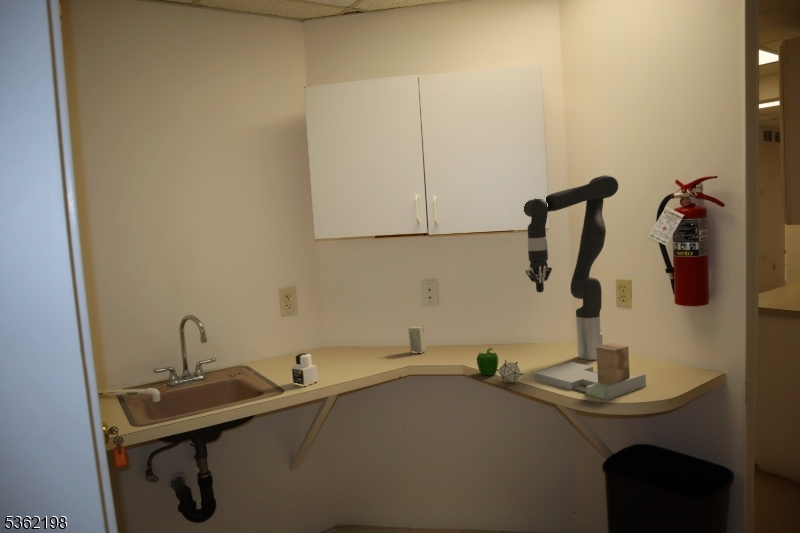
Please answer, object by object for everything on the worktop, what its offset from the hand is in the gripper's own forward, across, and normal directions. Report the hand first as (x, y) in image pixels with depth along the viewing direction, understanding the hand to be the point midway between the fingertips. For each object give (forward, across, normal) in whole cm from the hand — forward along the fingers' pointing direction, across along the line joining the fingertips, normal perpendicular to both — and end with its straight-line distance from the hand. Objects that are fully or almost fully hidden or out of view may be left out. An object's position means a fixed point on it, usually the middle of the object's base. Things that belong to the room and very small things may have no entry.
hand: (540, 292), depth 207 cm
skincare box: (+29, -26, +54) cm, 67 cm away
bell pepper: (+29, -26, +4) cm, 39 cm away
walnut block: (+26, -9, -39) cm, 48 cm away
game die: (+29, -28, -10) cm, 42 cm away
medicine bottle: (+29, -85, +46) cm, 101 cm away
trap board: (+29, -9, -28) cm, 42 cm away
